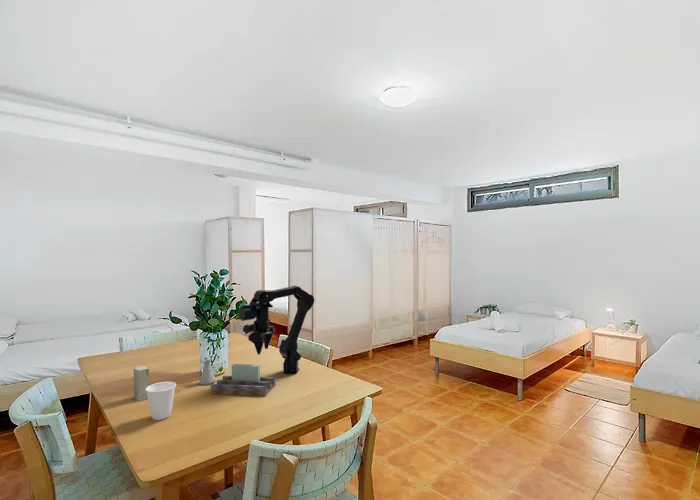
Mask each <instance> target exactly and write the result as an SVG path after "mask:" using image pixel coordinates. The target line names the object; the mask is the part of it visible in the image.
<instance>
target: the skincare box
mask: <svg viewBox="0 0 700 500" xmlns="http://www.w3.org/2000/svg"><path fill="white" fill-rule="evenodd" d="M150 379H151V378H150V367H148V366H146V365H141V366H136V367H133V388H134V389H133V391H134V392H133V395H134V399H135V400H137V401H138V402H140V401H144V400H148V396H147V392H146V390H145V389H146V388H147V387H148V386H150V385H151V382H150Z"/></svg>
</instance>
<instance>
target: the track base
mask: <svg viewBox="0 0 700 500" xmlns="http://www.w3.org/2000/svg"><path fill="white" fill-rule="evenodd" d="M221 378H222V379H216V383H212V384H210V394H212V395H213V394H214V395H233V396H236V395H237V396H256V397H257V396H260V397H267V395H268V394H269V393H270V392H271V390H272V391H273V389H274V387H276V377H271V376H269V377H268V376H260V381H242V380H232V375H222V377H221Z"/></svg>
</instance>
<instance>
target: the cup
mask: <svg viewBox="0 0 700 500" xmlns="http://www.w3.org/2000/svg"><path fill="white" fill-rule="evenodd" d="M176 386H177V383H176V382H173V381H161V382H160V381H159V382H156V383H153V384H150V386H148V387H147V388H146V389H145V390H146V392H147V396H148V399H147V400H148V405H149V410H150V415H151V419H152V420H153V421H162V420H165V419H168V418H170V416H171V414H172V409H173V403H174V398H175V397H174V396H175V392H176Z"/></svg>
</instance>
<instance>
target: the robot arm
mask: <svg viewBox="0 0 700 500" xmlns="http://www.w3.org/2000/svg"><path fill="white" fill-rule="evenodd" d="M290 296H294V298H295V299H296V300H297V302H296V308H297V311H296V312H295V315H294V319H293V321H292V324H291V326H290V329H289V333H288V335H287V337H286V338H285V339H281V341H280V345H279V347H278V348H279V349H278V352H279V354H280V355H281V357H282V359H284V362H283V365H282V366H283V367H282V368H283V372H282V373H283V374H292V375H294V374H297V373H298V372H299V371H300V368H299V361H300V360H301V357H302V355H301V354H300V353H299V352H298V348H299V347H298V339H299V336H300V333H301V330H302V327H303V324H304V322H305V319H306V315H307V313H308V312H309V311H310V310H311V309H312V308H313V306H314V303H315V296H314V295H312V294H310V293H308V292H307V291H305V290H304V289H302V288H301V287H300V286H298V285H292V286H288V287H283V288H278V289H277V288H276V289H273V290H270V289H269V290H266V289H258V290H256V291H255V292H254V294H253V297H252V299H251V301H250V302H249V303H248V304H242V305H241V306H240V309H239V310H238V316H239V317H238V318H239V320H240V321H242V322H244V321H250V320H254V321H253V323H251V324H248V323H247V324H245V325H243V327H242V332H244V333H245V335H248V334H249V333H250V334H249V335H248V336H247V337H248V341H250V343H253V345H254V347H255V350H256V352H257V353H256V354H257V355H259V356H260V355H261V353H262V350H263V347H264V349H265V350H267V349H268V348H269V346H270V344H271V341H272V338H273V336H274V335H275V332H276V327H275V325H269V324H270V322H271V319H270V318H269V317H270V316H269V315H270V313H269V310H270V309H269V308H273V307H274V306H273V305H272V304H271V302H273V301H274V300H277V299H279V298H285V297H290Z"/></svg>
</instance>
